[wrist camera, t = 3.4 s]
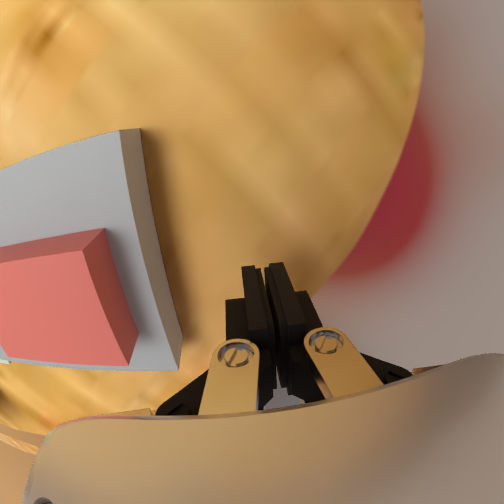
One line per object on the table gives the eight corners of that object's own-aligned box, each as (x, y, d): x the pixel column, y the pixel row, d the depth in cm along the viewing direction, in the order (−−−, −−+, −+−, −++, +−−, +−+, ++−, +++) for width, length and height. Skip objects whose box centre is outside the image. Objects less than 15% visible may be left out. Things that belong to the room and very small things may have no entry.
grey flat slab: (-40, 192, 12) (-65, 205, 9) (140, 128, 12) (119, 130, 10) (15, 336, 17) (0, 359, 15) (183, 337, 18) (178, 370, 15)
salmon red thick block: (-14, 250, 11) (-37, 269, 9) (104, 227, 11) (82, 250, 9) (23, 333, 13) (7, 356, 11) (138, 333, 14) (128, 366, 12)
